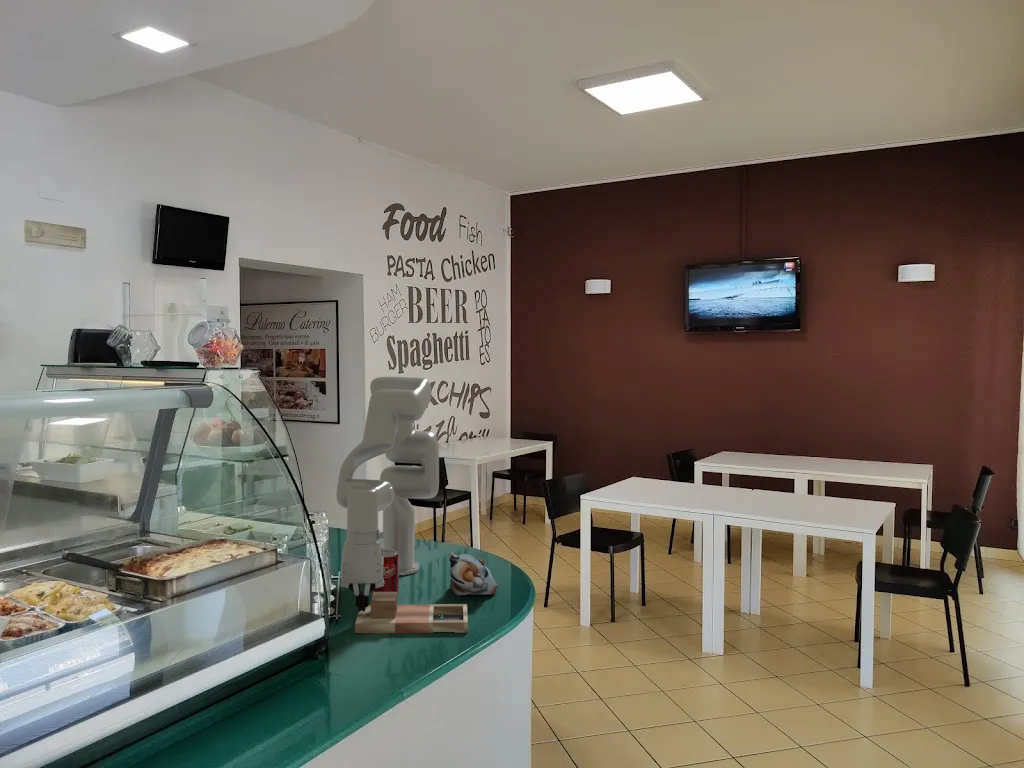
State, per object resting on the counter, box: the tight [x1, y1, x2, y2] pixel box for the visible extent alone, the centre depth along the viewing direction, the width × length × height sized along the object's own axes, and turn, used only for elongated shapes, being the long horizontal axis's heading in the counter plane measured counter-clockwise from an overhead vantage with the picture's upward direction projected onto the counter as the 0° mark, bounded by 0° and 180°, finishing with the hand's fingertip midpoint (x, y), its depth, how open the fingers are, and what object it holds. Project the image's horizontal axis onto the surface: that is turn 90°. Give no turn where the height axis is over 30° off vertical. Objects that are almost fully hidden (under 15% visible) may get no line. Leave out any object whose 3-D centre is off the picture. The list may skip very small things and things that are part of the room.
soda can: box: [371, 549, 400, 596], centre depth 206 cm, size 7×7×12 cm
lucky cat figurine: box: [448, 551, 499, 597], centre depth 209 cm, size 15×12×14 cm
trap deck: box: [354, 603, 469, 635], centre depth 188 cm, size 12×27×2 cm, turn 94°
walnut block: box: [370, 592, 399, 619], centre depth 187 cm, size 6×6×4 cm
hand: (362, 609), depth 187 cm, fingers closed
